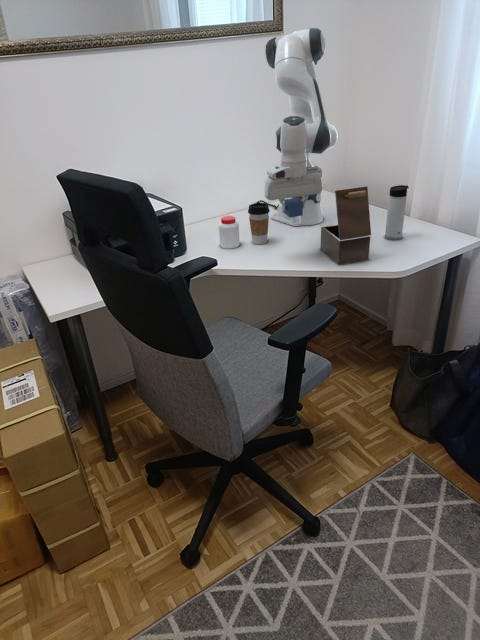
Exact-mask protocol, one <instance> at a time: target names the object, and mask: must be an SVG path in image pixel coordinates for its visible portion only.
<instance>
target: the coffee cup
mask: <svg viewBox="0 0 480 640" xmlns="http://www.w3.org/2000/svg"><path fill="white" fill-rule="evenodd" d="M270 212H271V210H270V207H269V205H268V204H266V203H263V202H259V203H257V202H255V203H251V204H249V205H248V209H247V213H248V216H249V217H248V220H249V225H250V226H249V228H250V234H251V240H252V243H253V244H254V245H265V244H267V243H268V237H269V236H268V234H269V223H270V221H269V220H270V216H269V213H270Z"/></svg>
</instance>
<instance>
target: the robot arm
mask: <svg viewBox="0 0 480 640" xmlns="http://www.w3.org/2000/svg"><path fill="white" fill-rule="evenodd" d="M322 31H323V30H321V29H320V28H319V27H310V28H309V29H299V30H295V31H292V32H289V33H286V34H282V35H280V36H277V37H272V38H271V39H269V40H268V41H267V42H266V44H265V50H264V51H265V52H264V56H265V60H266V62H267V65H268V66H269V67H270V68H271V69H273V70H274V77H275V83H276V85H277V87H278V89H279V90H280V91H282V93H284V94H286V95H288V100H289V107H290V111H291V113H292V114H293V115H290V116H287V117H284V118H283V119H282V121H281V125H280V126H279V127H278V128H277V130H276V131H275V137H276V146H275V148H276V150H277V151H278V152H280V153H281V154H280V155H281V156H280V159H279V161H280V162H279V163H277V164H275V165H273V166H272V167H268V168H267V169H266V175H267V177H266V178H265V182H264V189H263V190H264V191H263V192H264V193H263V195H264V197H265V199H266V200H268V201H276V200H278V201H279V204H277V205H276V204H271V203H269V202H266V201H265V200H261V199H260V200H258V201H256V203H266V204H268V207H269V206H270V207H273V208H274V209H275V210H277V211H276V212H275V213H274V214H273V215H272V217H271V219H272V220H274V221H275V222H276V221H277V222H280V223H283V224H287V225H288V226H289V225H290V226H293V227H301V226H313V225H317V224H320V223H322V222H323V221H324V218H323V213H322V205H321V200H322V192H323V181H322V180H323V179H322V177H323V170H322V168H321V167H319V165H318V164H316V163H315V162H312V161H311V157H310V154H311V155H312V154H317V155H318V154H319V155H322V154H323V153H324V152H326V151H329V150H331V149H333V148H334V147H335V146H336V144H337V142H338V138H339V137H338V136H339V134H338V131H337V128H336V127H335V126H334V125H333V124H332V123H330V122H329V121H328V119H327V116H326V113H325V109H324V103H323V99H322V95H321V91H320V87H319V84H318V81H317V76H316V72H315V67H314V65H315V66H316V65H318V62H319V61H320V60H321V59H322V57H323V56H324V54H325V50H326V39H325V36H324V34H323V32H322ZM313 63H314V64H313ZM291 198H299V199H300V200H301V201H303V215H302V216H296V217H288V216H287V215H286V214H285V213H284V211H286V210H288V206H287V205H286V204H284V201H285V199H291ZM259 201H260V202H259Z"/></svg>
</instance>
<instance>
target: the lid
mask: <svg viewBox="0 0 480 640" xmlns="http://www.w3.org/2000/svg"><path fill="white" fill-rule="evenodd" d="M334 195H335V206H336V217H337V225H338V230H339V240H343V239H350V238H356V237H362V236H368V235H369V236H371V235H372V228H371V215H370V203H369V188H368V185H367V186H360V187H353V188H346V189H338V190H334Z"/></svg>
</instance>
